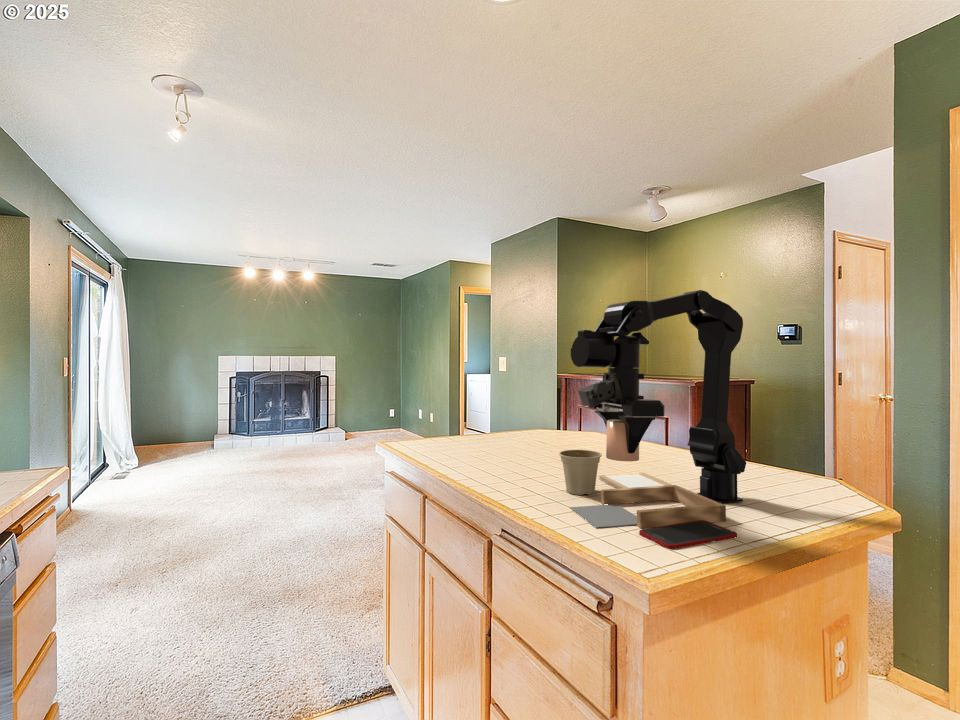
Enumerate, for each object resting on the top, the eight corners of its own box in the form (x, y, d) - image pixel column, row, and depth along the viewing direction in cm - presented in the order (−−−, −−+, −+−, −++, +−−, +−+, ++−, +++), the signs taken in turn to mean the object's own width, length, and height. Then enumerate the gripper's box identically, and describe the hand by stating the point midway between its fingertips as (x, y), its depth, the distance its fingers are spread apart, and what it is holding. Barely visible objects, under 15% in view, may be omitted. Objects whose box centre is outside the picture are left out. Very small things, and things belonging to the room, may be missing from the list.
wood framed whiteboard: (599, 479, 121) (599, 475, 121) (643, 476, 123) (643, 472, 123) (634, 498, 104) (634, 493, 104) (685, 494, 106) (685, 490, 106)
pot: (628, 455, 96) (629, 418, 97) (645, 461, 91) (645, 422, 91) (600, 455, 95) (601, 418, 95) (615, 461, 89) (616, 422, 89)
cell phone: (636, 535, 83) (636, 530, 83) (703, 524, 88) (703, 519, 88) (669, 552, 76) (669, 546, 76) (740, 539, 81) (740, 533, 81)
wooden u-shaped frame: (675, 497, 104) (675, 484, 104) (725, 521, 89) (725, 505, 89) (601, 503, 100) (601, 489, 100) (640, 528, 85) (640, 512, 85)
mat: (616, 504, 99) (616, 503, 99) (648, 524, 88) (648, 522, 88) (569, 508, 97) (569, 507, 97) (596, 528, 86) (596, 527, 86)
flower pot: (603, 498, 104) (602, 458, 104) (558, 496, 106) (557, 456, 106) (601, 487, 113) (601, 450, 113) (560, 485, 115) (559, 449, 115)
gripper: (565, 367, 101) (563, 443, 100) (607, 367, 82) (606, 460, 82) (615, 368, 103) (613, 442, 103) (666, 368, 85) (665, 459, 84)
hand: (622, 450), depth 93 cm, fingers closed on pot, 6 cm apart
